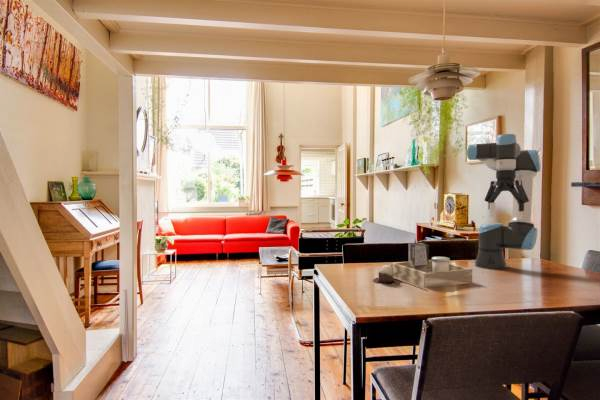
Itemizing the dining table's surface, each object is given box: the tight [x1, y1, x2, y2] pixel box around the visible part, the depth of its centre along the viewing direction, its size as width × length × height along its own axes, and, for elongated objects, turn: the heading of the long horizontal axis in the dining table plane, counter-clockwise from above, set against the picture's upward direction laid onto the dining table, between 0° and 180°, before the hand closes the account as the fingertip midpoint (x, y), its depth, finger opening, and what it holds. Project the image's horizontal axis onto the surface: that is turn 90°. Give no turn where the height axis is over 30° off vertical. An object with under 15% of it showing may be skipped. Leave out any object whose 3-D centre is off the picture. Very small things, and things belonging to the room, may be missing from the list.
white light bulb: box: [431, 256, 451, 272], centre depth 168 cm, size 8×8×9 cm
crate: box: [390, 259, 473, 291], centre depth 166 cm, size 24×24×7 cm
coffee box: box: [408, 242, 430, 273], centre depth 164 cm, size 9×6×16 cm
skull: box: [372, 264, 402, 286], centre depth 166 cm, size 12×10×10 cm
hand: (505, 218), depth 163 cm, fingers open, 13 cm apart
